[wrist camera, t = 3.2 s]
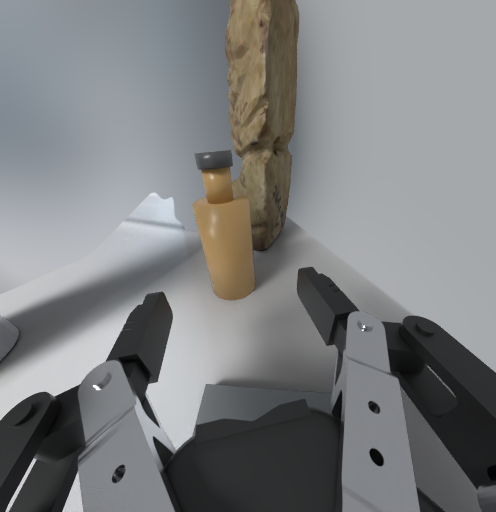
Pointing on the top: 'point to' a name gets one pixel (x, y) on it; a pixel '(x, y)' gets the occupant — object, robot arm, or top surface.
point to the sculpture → (263, 107)
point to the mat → (251, 402)
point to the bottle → (224, 228)
